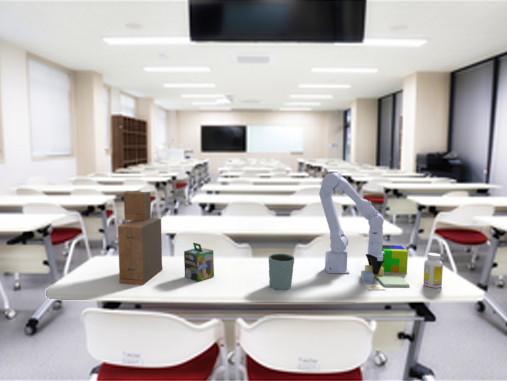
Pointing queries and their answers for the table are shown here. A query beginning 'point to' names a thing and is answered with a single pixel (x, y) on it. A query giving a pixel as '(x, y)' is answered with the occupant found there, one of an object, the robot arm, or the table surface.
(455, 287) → the table surface
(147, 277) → the brown stacked boxes
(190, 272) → the multicoloured upright box
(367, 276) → the blue cube
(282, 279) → the green cup
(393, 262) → the puzzle toy
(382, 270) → the ochre brick
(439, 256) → the supplement bottle
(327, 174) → the robot arm
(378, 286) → the page
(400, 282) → the baseplate
